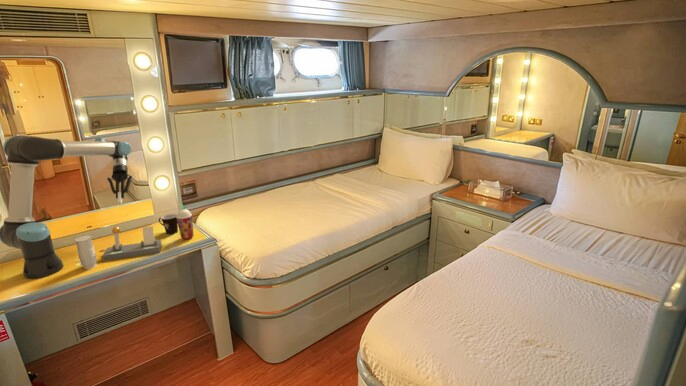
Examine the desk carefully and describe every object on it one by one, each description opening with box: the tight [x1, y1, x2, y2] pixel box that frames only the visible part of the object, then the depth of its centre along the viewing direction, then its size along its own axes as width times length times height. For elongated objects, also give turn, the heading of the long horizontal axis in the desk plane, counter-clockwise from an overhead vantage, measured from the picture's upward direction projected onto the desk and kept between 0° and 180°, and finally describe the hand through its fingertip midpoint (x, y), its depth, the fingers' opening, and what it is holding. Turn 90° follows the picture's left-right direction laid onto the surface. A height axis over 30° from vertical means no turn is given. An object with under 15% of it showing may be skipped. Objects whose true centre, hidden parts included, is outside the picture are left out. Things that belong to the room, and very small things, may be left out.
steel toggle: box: [111, 226, 121, 249], centre depth 197 cm, size 4×4×11 cm
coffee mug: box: [158, 213, 179, 235], centre depth 224 cm, size 12×9×10 cm
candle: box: [74, 235, 98, 270], centre depth 183 cm, size 7×7×15 cm
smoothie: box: [176, 204, 194, 241], centre depth 213 cm, size 8×8×20 cm
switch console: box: [102, 238, 163, 262], centre depth 198 cm, size 26×10×5 cm, turn 109°
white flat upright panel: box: [141, 226, 156, 245], centre depth 201 cm, size 5×1×9 cm, turn 109°
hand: (119, 203), depth 211 cm, fingers closed
